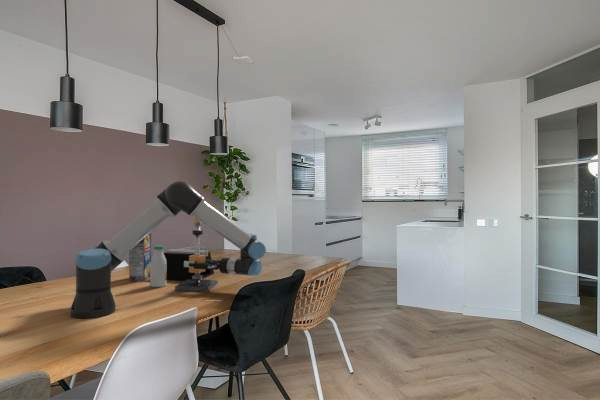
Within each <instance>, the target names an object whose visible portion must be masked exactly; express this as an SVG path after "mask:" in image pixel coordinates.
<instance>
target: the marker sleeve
mask: <svg viewBox="0 0 600 400" xmlns="http://www.w3.org/2000/svg"><path fill="white" fill-rule="evenodd" d="M189 261H191V262H195V261H196V262H199V263H205V255H200V256H195V255H191V256H189ZM204 271H205V269H194V268H193V267H189V272H191V273H201V272H204Z"/></svg>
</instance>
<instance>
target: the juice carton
mask: <svg viewBox="0 0 600 400" xmlns="http://www.w3.org/2000/svg"><path fill="white" fill-rule="evenodd" d="M128 254H129V261H128V262H129V266H128V267H129V271H128V274H129V278H128V279H129V282H144V281H146V280H147V279H150V263H151V259H152V233H150V234H148V235H147V236H146V237H145V238H144V239H143V240H142V241H140V242H139V243H138V244H137V245H136V246H135V247H133V248H132V249H131V250H130V251H129V252H128Z"/></svg>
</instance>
